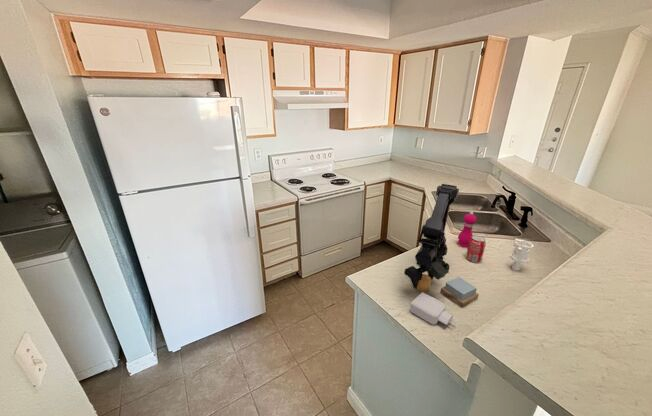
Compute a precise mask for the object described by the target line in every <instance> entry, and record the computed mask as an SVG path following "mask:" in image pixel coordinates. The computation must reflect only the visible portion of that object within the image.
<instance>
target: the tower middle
mask: <svg viewBox="0 0 652 416" xmlns="http://www.w3.org/2000/svg"><path fill="white" fill-rule="evenodd" d="M444 286H445V289H446V290H448V291H449V292H450V293H452V294H453V295H455V296H456V297H457V298H459V299H460V300H464V299H466V298H468V297H470V296H472V295H475V293H477V289H478V288H477V287H476V286H475V285H473V284H471V283H469V282H468V281H466V280H464V279H463V278H461V277H460V276H458V277H456V278H453V279H450V280H448V281H447V282H445V284H444Z"/></svg>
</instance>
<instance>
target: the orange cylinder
mask: <svg viewBox="0 0 652 416" xmlns="http://www.w3.org/2000/svg"><path fill="white" fill-rule="evenodd" d="M422 274H423V277H422V280H420V281H419V282H418V285H417V288H416V289H415V290H416V291H417V292H420V293H422V292H423V293H425V294H427V293H429V292H430V288H431V284H432V281H431V278H430V277H429V276H428V274H425V273H422Z"/></svg>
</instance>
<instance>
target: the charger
mask: <svg viewBox="0 0 652 416" xmlns="http://www.w3.org/2000/svg"><path fill="white" fill-rule="evenodd" d="M446 308H447V306H446V304H445V303H443V302H442V301H440V300H438V299H436V297H435V298H434V297H432V296H430V295H429V294H427V293H423V292H420V293H419V294H418V295H417V296H416V297H415V298H414V299H413V300H412V302H411V303H410V307H409V312H411V313H412V314H414V315H415V316H417V317H419V318H420V319H422V320H424V321H426V322H427V323H429V324H431V325H437V324H438V322H440V323H442V324H443V325H445V326H448V325H449V324H452V325H453V326H455V325H456V324H455V323H458V321H457V320H455V319H453V317H454V315H452V314H450V313H449V312H447V311H446Z"/></svg>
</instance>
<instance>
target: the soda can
mask: <svg viewBox="0 0 652 416" xmlns="http://www.w3.org/2000/svg"><path fill="white" fill-rule="evenodd" d="M486 244H487V243H486V238H485V237H483V236H481V235H473V236H472V238H471V239H470V241H469V245H468V248H466V249H467V250H466V253H465V254H466V255H465V257H466V259H467V260H469V262H473V263H478V262H481V261H482V259H483V255H484V251H485V248H486Z"/></svg>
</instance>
